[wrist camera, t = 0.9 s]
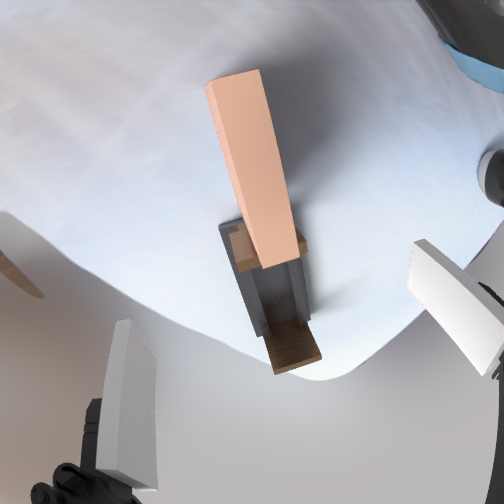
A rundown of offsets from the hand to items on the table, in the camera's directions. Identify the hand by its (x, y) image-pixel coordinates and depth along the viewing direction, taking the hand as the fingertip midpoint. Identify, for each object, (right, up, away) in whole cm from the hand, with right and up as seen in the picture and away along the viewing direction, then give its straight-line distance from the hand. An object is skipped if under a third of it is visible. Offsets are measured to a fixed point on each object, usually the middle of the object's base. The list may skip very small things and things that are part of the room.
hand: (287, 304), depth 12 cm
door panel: (-3, +14, +18) cm, 23 cm away
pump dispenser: (+41, +17, +26) cm, 52 cm away
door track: (+1, -1, +28) cm, 28 cm away
